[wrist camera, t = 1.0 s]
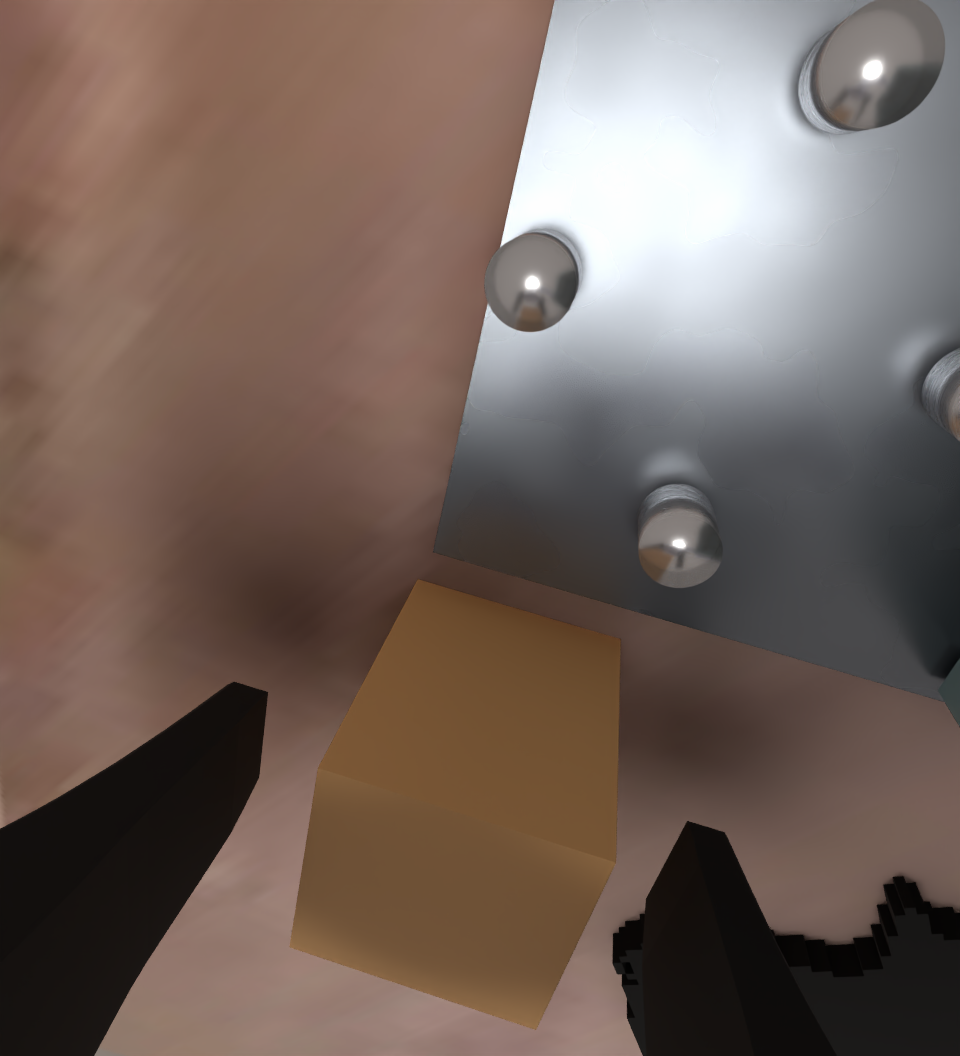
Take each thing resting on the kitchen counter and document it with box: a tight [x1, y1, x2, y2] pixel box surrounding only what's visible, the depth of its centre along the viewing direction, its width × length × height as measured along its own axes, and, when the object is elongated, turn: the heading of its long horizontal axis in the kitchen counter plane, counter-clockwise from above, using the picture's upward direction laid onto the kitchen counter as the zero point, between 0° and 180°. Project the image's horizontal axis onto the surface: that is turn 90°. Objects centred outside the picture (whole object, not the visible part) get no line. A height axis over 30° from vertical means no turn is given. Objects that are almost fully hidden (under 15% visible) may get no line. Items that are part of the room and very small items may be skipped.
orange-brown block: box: [290, 579, 621, 1030], centre depth 12 cm, size 4×4×5 cm
